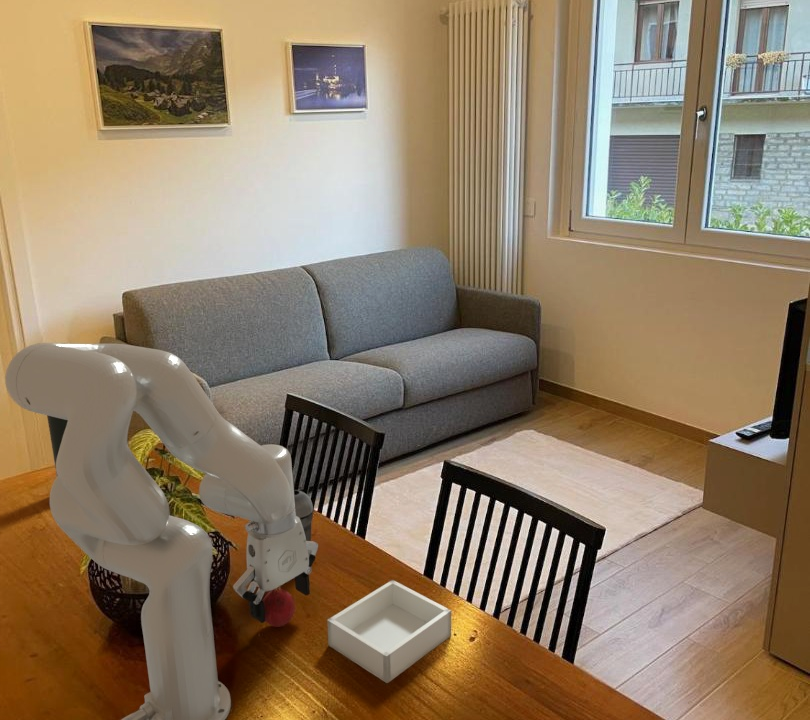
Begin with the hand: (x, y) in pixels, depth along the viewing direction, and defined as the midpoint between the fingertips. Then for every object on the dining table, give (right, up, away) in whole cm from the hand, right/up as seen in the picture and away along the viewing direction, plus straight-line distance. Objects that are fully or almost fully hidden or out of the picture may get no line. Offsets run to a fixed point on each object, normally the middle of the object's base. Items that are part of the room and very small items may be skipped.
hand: (281, 605), depth 135 cm
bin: (+19, -5, -4) cm, 20 cm away
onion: (0, -4, 0) cm, 4 cm away
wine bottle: (-57, +11, +49) cm, 76 cm away
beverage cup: (0, +2, +19) cm, 19 cm away
